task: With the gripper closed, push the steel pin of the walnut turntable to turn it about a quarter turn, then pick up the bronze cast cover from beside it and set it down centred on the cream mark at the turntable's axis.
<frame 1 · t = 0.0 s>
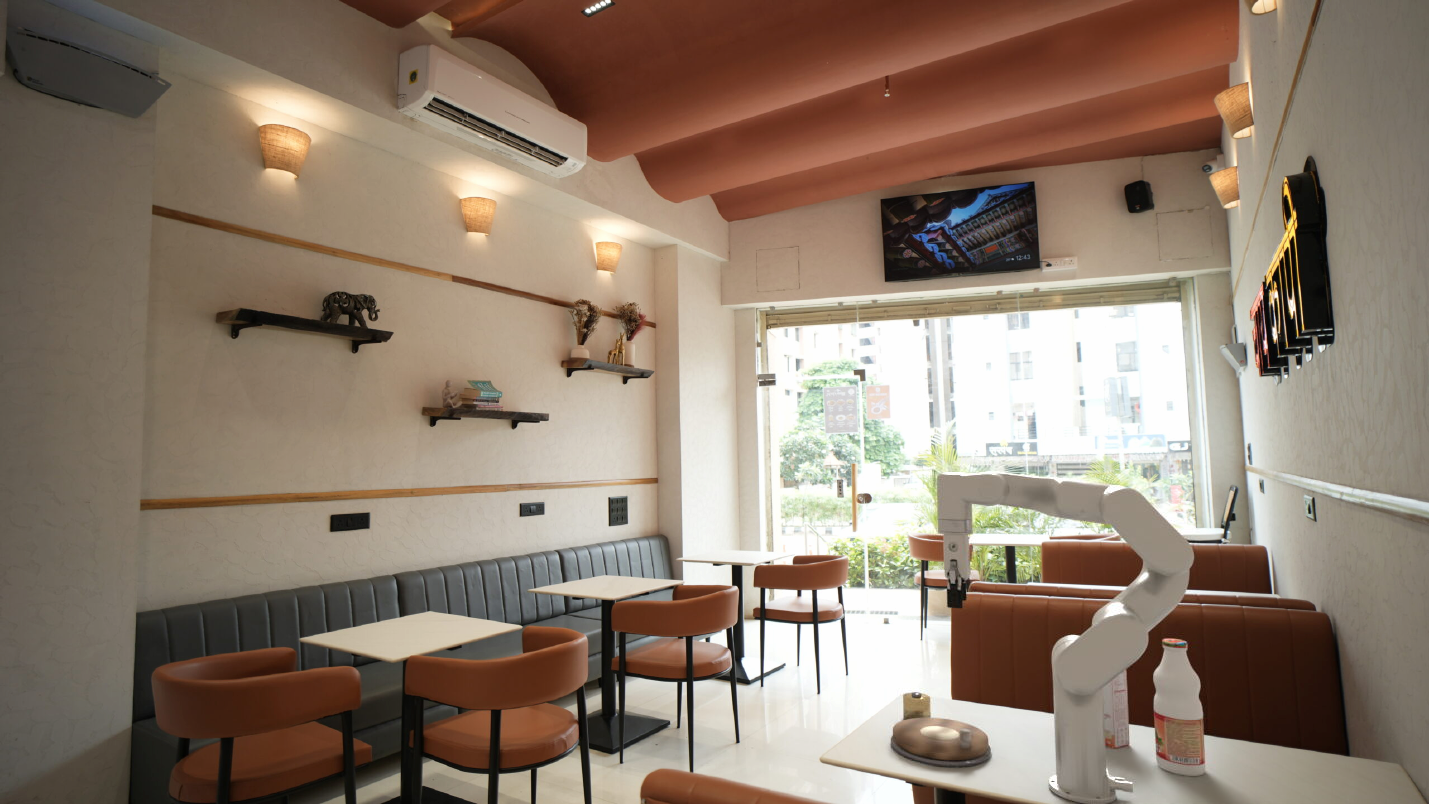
hand: (957, 603, 167), 37 cm above the table, tool pointing down, fingers open, 9 cm apart
turntable base: (940, 747, 179), on the table
turntable: (939, 729, 179), point 4 cm above the table, hinge at 0.0°
cracker box: (1096, 738, 185), on the table
cast cover: (917, 719, 199), on the table
fruit juice: (1180, 768, 167), on the table
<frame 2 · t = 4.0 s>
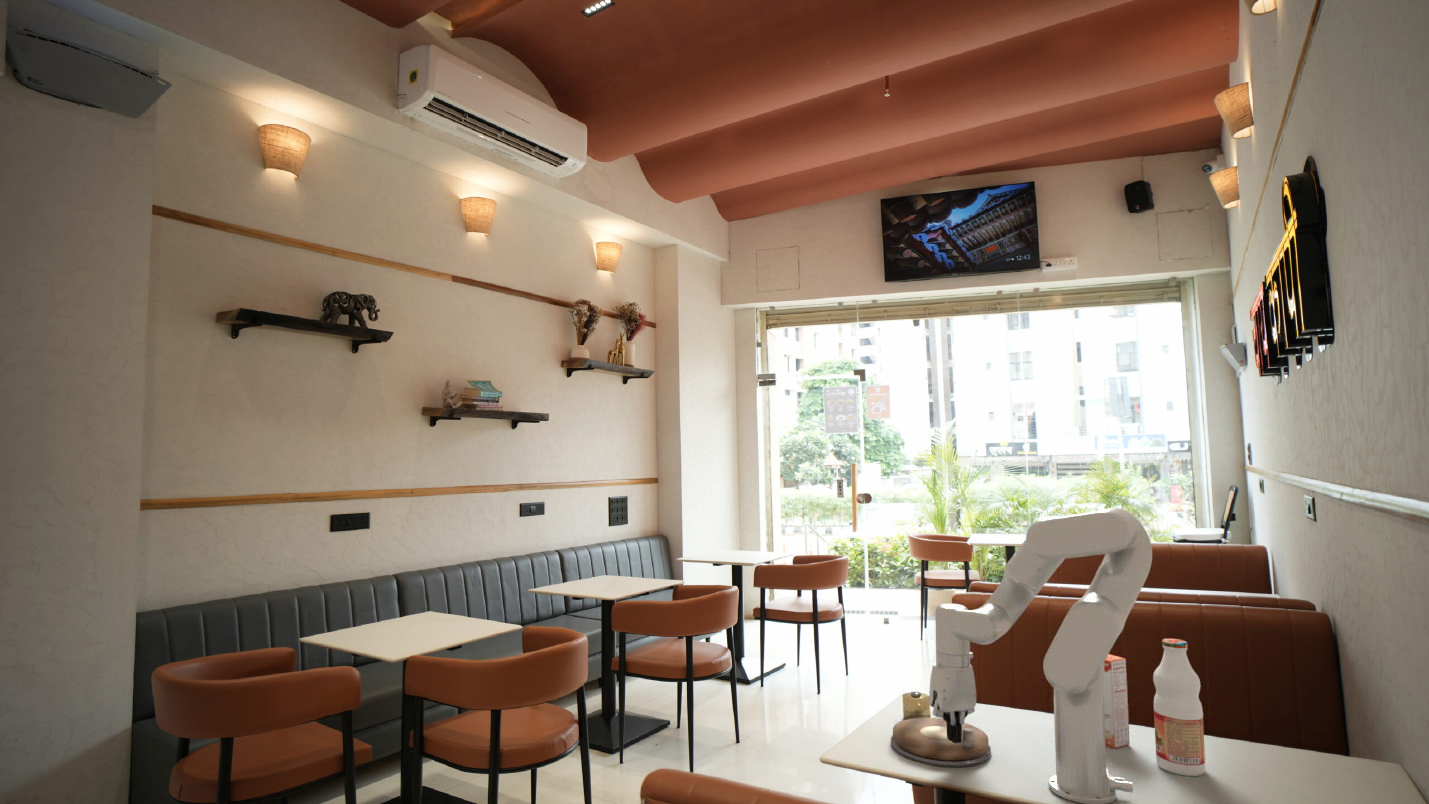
hand: (954, 740, 171), 5 cm above the table, tool pointing down, fingers closed
turntable: (939, 729, 179), point 4 cm above the table, hinge at 5.3°
everything else where it was.
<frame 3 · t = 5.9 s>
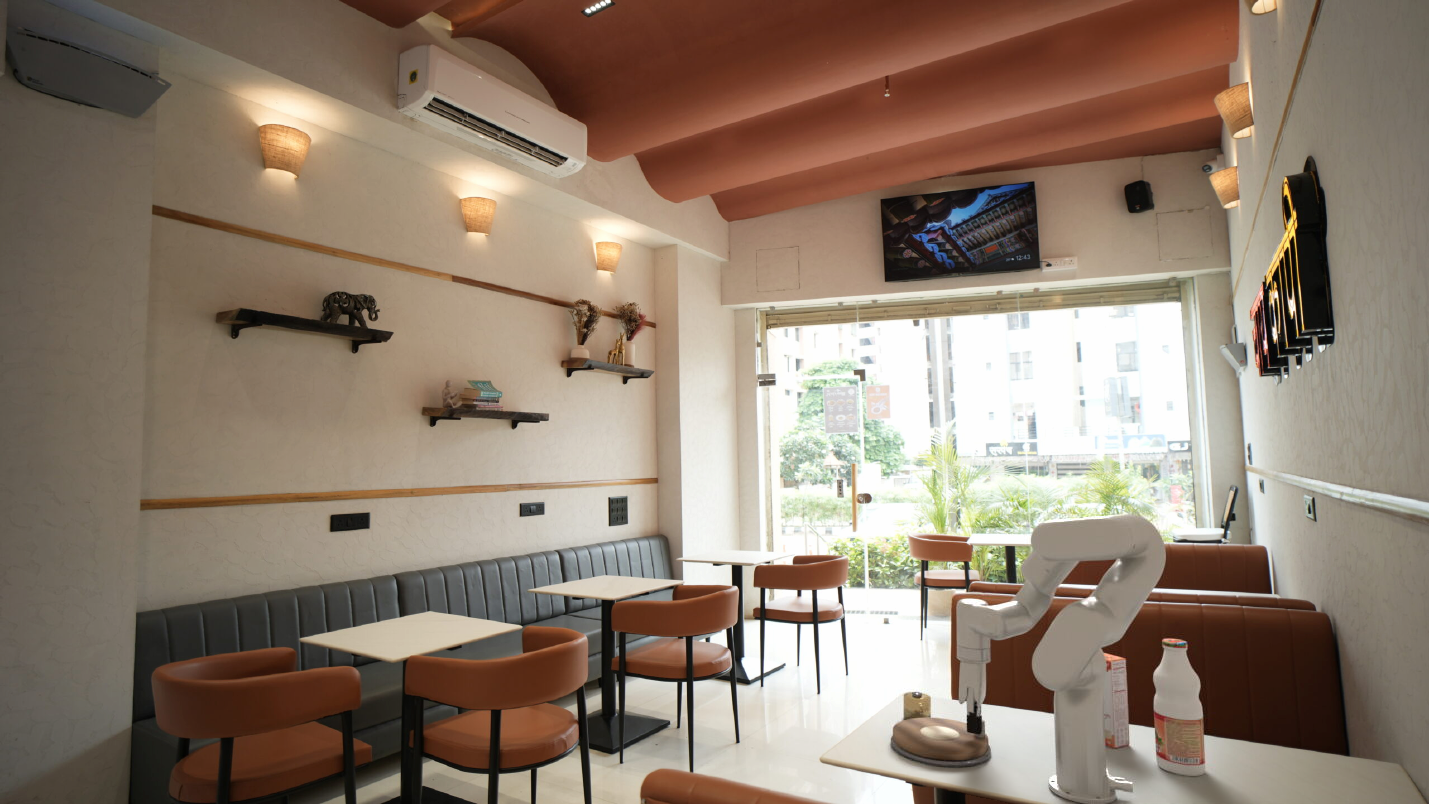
hand: (974, 732, 175), 5 cm above the table, tool pointing down, fingers closed
turntable: (939, 729, 179), point 4 cm above the table, hinge at 56.1°, touching gripper
everything else where it was.
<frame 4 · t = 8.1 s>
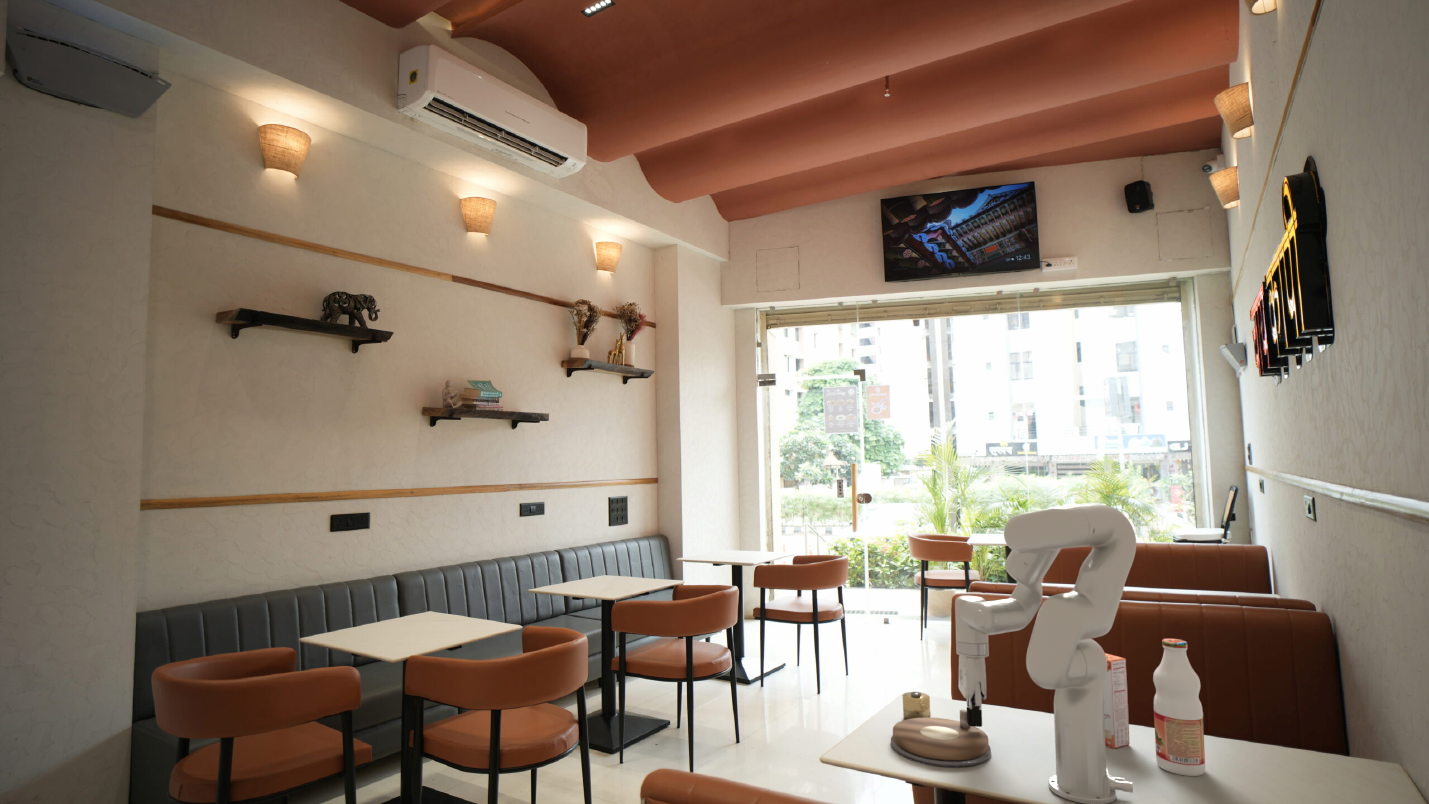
hand: (974, 724, 181), 5 cm above the table, tool pointing down, fingers closed
turntable: (939, 729, 179), point 4 cm above the table, hinge at 100.6°
everything else where it was.
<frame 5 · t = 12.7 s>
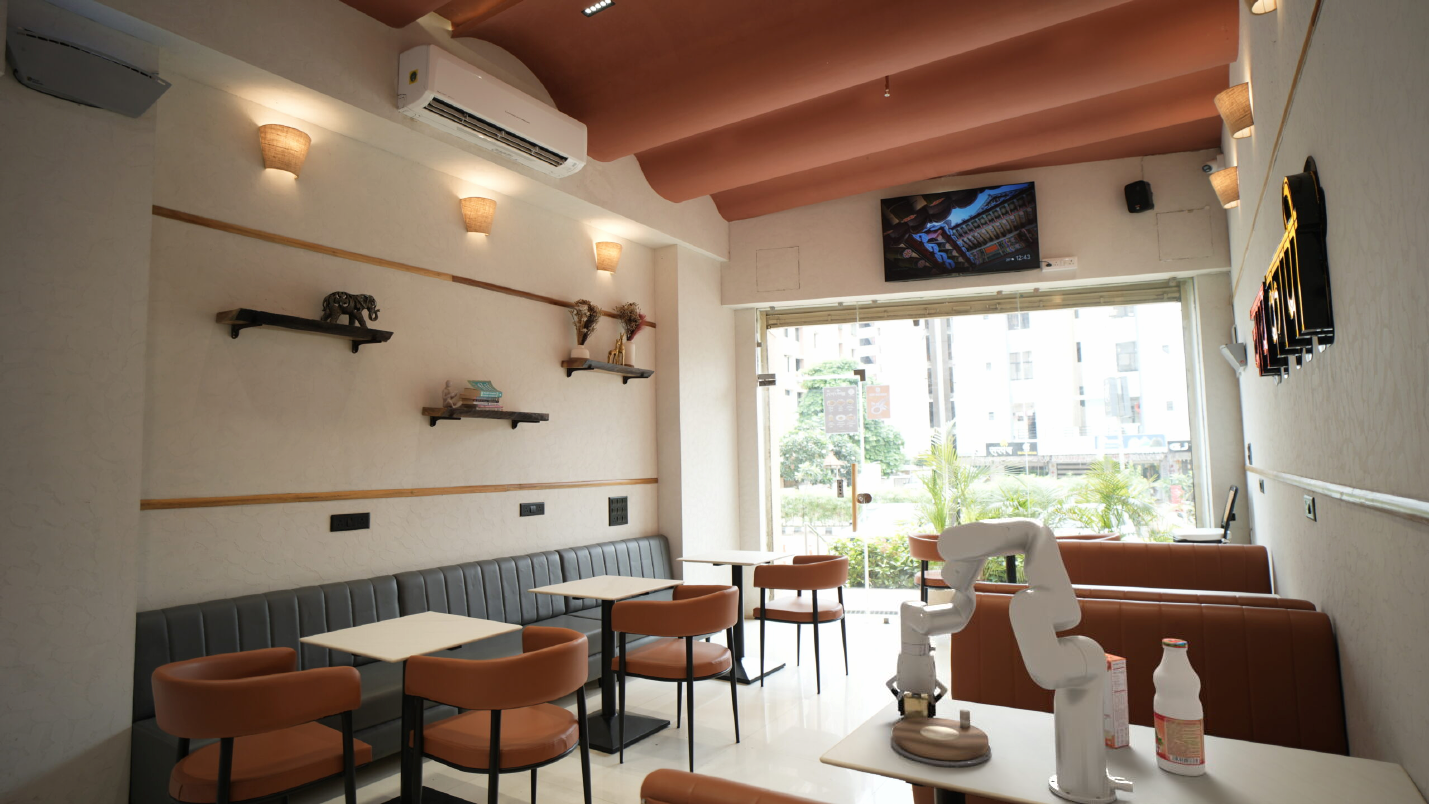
hand: (916, 715, 199), 1 cm above the table, tool pointing down, fingers closed on cast cover, 7 cm apart
cast cover: (917, 719, 199), on the table, touching gripper
everything else where it was.
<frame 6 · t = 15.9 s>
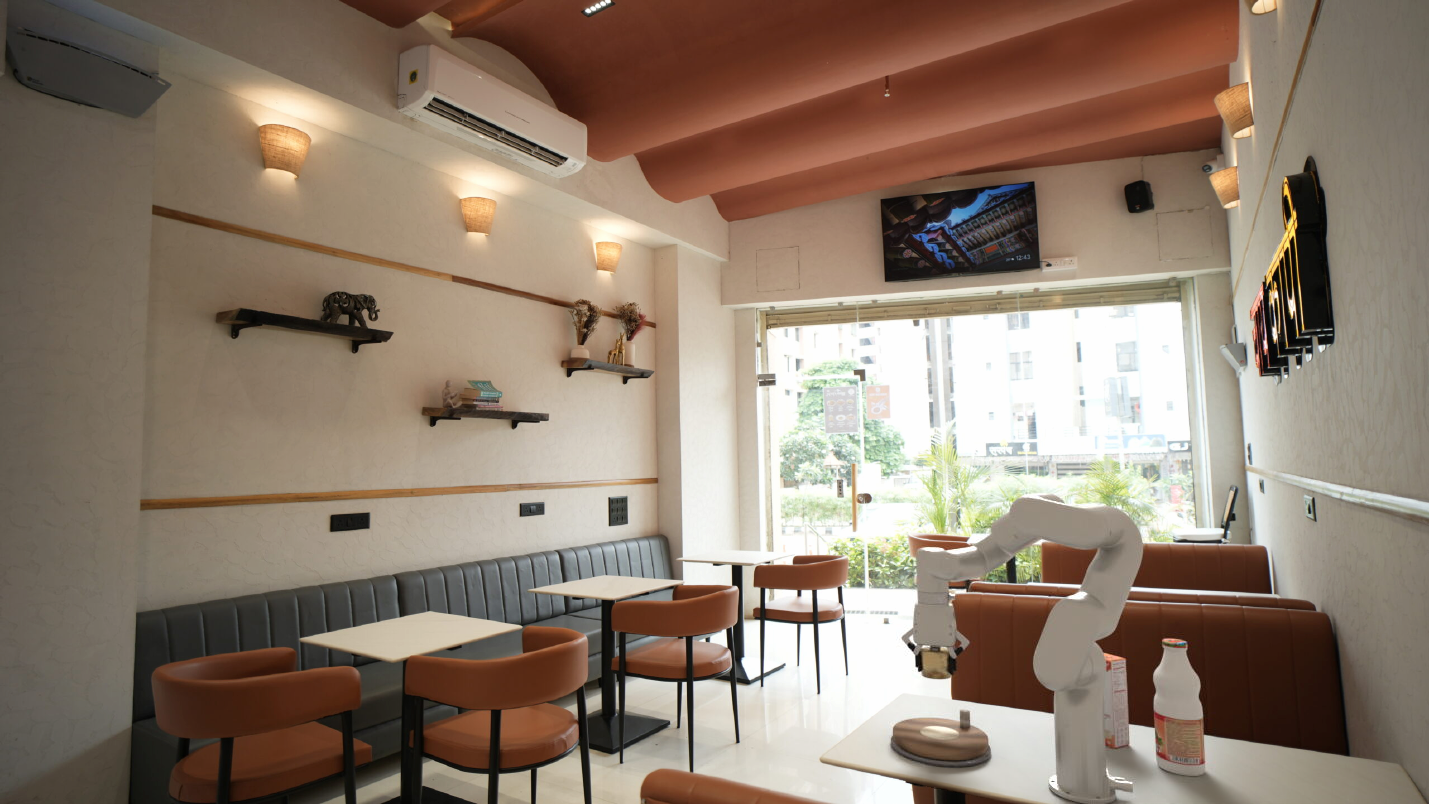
hand: (936, 671, 183), 17 cm above the table, tool pointing down, fingers closed on cast cover, 7 cm apart
cast cover: (936, 675, 183), point 16 cm above the table, touching gripper
everything else where it was.
when the fingers open (6 cm above the table, at t = 19.0 s): cast cover drops 1 cm, resting on turntable.
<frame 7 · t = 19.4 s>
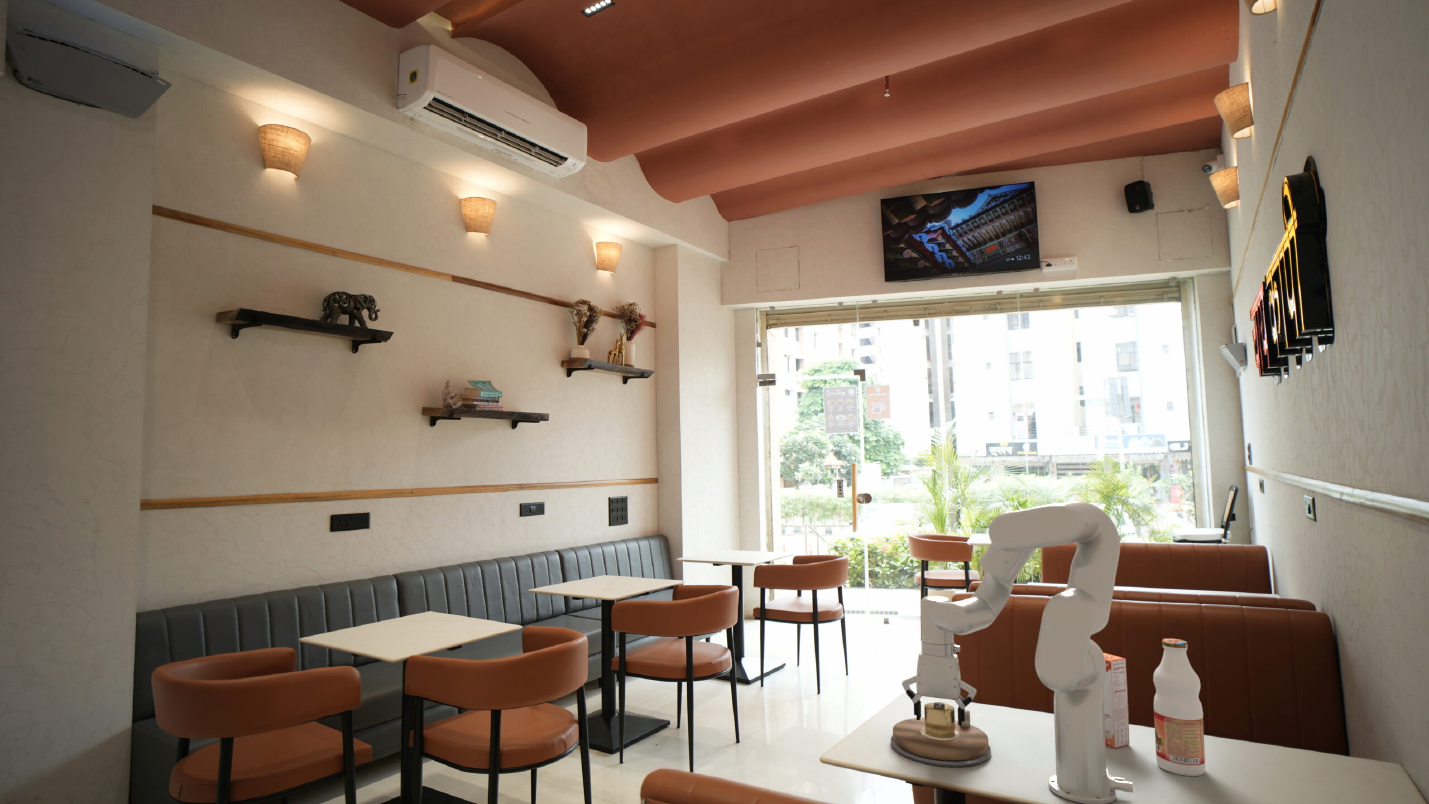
hand: (939, 721, 179), 6 cm above the table, tool pointing down, fingers open, 9 cm apart
turntable: (939, 729, 179), point 4 cm above the table, hinge at 100.6°, touching cast cover
cast cover: (940, 732, 179), point 4 cm above the table, touching turntable
everything else where it was.
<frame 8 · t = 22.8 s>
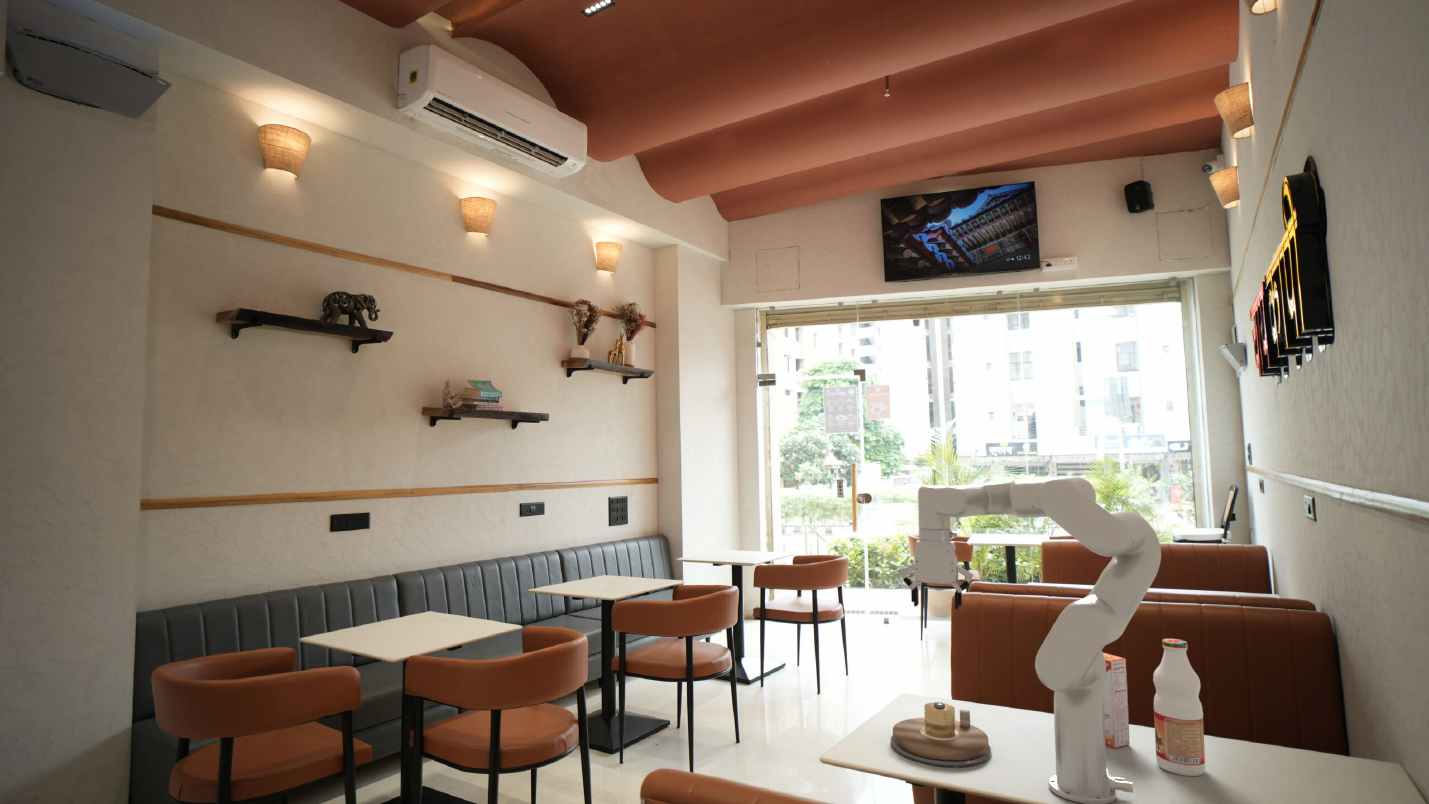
hand: (936, 606, 181), 33 cm above the table, tool pointing down, fingers open, 9 cm apart
nothing on the table moved.
at the end: turntable at +101° (first picture: +0°); cast cover 0.1 cm off-centre on the turntable, point 3.5 cm above the turntable's base; cast cover tilted 0° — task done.
